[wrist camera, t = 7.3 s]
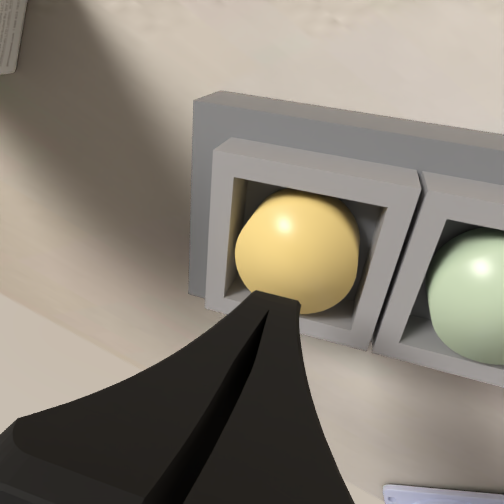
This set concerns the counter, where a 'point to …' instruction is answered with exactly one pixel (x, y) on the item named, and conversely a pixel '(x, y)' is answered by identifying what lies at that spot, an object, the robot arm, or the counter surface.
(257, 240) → the yellow rounded piece
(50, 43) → the counter surface
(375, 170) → the button panel
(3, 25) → the skincare box
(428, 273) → the sage button
